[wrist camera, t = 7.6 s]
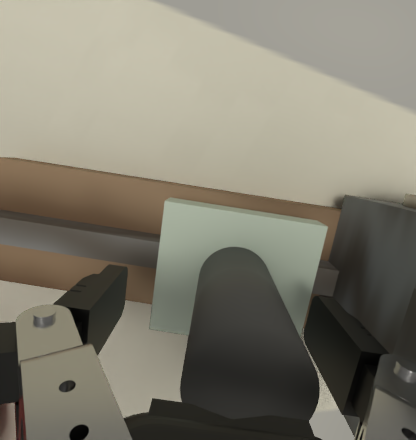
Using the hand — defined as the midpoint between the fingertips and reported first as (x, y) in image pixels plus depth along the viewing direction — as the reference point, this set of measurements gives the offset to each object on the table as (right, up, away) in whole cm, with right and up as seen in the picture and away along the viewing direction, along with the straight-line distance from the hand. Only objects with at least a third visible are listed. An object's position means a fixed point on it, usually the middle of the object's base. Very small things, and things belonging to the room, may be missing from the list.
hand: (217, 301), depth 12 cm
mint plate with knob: (+1, +1, +5) cm, 6 cm away
